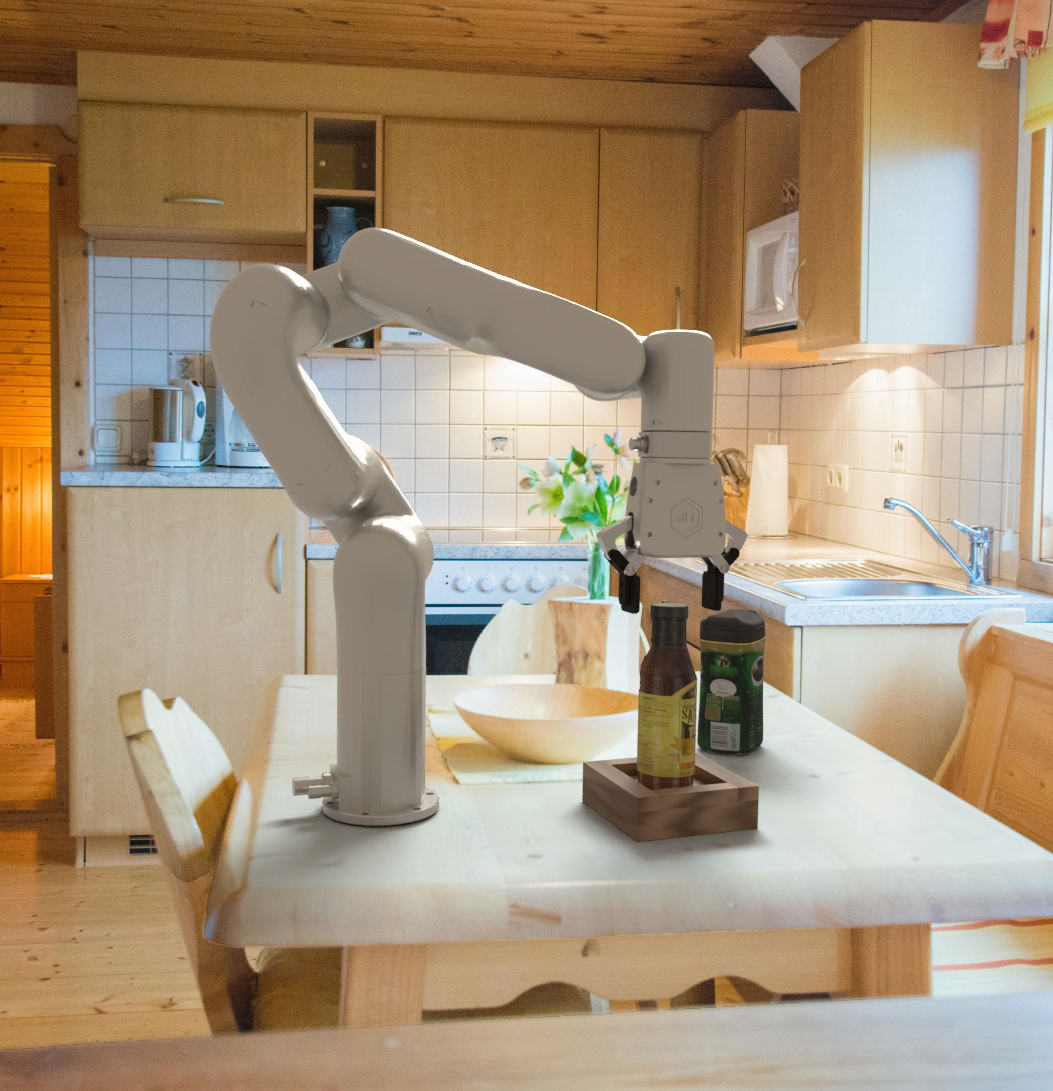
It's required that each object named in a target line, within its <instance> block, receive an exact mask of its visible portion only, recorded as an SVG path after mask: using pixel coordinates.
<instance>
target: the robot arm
mask: <svg viewBox="0 0 1053 1091" xmlns="http://www.w3.org/2000/svg"><path fill="white" fill-rule="evenodd" d="M392 321H395V322H397V323H400V324H402V325H404V326H407V327H409V328H412V329H414V330H416V331H419V332H421V333H424V334H426V335H429V336H431V337H433V338H435V339H438V340H440V341H443V342H445V343H448V344H450V345H453V346H454V347H457V348H459V349H461V350H464V351H467V352H471V353H474V354H477V355H482V356H490V357H491V356H493V357H499V358H502V359H506V360H509V361H512V362H516V363H518V364H522V365H525V366H528V367H530V368H533V369H535V370H538V371H540V372H542V373H545V374H547V375H550V376H552V377H554V378H557V379H559V380H561V381H564V382H567V383H568V384H571V385H574V387H575V389H577V390H578V392H579V393H581V394H582V395H583V396H584V397H586V398H589V399H590V400H594V401H597V402H598V401H599V402H615V401H621V400H629V399H630V400H631V399H640V400H641V401H640V402H641V405H640V407H641V408H640V410H641V411H640V431H639V432H638V436H637V437H631V438H630V439H629V441H628V447H629V450H630V451H636V452H637V453H638V454H637V456H638V457H639V462H636V461H635V462H634V463H633V467H632V471H631V476H630V480H629V485H628V493H627V497H626V505H625V506H626V508H625V514H624V515H625V516H624V517H623V518H621V519H619V520H617V521H616V522H614V523H612V524H610V525H608V526H607V527H604V528H602V529H601V530H599V531H597V533H596V536H595V537H596V539H597V542H598V544H599V546H600V549H601V551H602V552H603V557H604V558H605V559H606V560H607V562H608V563H609V564H610V565H611V566H612V568H613V569H614V571H615V572H616V573H617V574H618V603H619V605H620V608H621V611H623V612H625V613H629V614H632V615H635V614H636V615H637V614H638V613H640V608H641V607H640V605H641V577H640V575H638V574H637V571H638V570H639V568H640V567H641V566H642V564H643V563H644V562H645V561H646V559H647V558H652V559H653V558H654V559H681V558H682V559H685V558H692V559H693V558H695V559H696V558H700V560H701V561H702V563H703V564H704V565H705V567H706V569H707V570H703V573H702V575H701V576H702V577H701V579H702V580H701V582H702V583H701V607H702V608H704V609H707V610H711V611H714V612H720V611H721V610H722V602H723V601H724V598H725V597H724V596H725V574H727V573H729V571H730V567H731V566H732V565H733V564H734V562H736V560H738V558H739V557H740V553H741V550H742V549H743V547H744V545H745V543H746V540H747V538H748V533H747V531H745V530H743V529H741V528H740V527H738V526H737V525H735V524H733V523H732V522H730V521H728V520H727V519H726V508H725V506H726V505H725V495H724V493H725V492H724V486H723V480H722V475H721V474H722V473H721V470H720V466H719V465H720V464H719V463H712V453H713V450H712V449H713V448H712V447H713V421H714V420H713V418H714V416H713V415H714V386H715V382H714V381H715V358H716V357H715V354H716V353H715V343H714V340H713V338H712V337H711V335H709V334H708V333H706V332H703V331H701V330H692V329H691V330H689V329H668V330H667V329H666V330H659V331H654V332H652V333H649V334H648V335H647V336H646V335H645V336H644V335H643V336H642V335H637V333H636V332H635V331H634V330H633V329H631V328H630V327H629V326H627V325H626V324H624V323H623V322H620V321H618V320H616V319H614V318H611V317H609V316H606V315H604V314H602V313H600V312H597V311H595V310H592V309H590V308H588V307H585V306H583V305H580V304H578V303H576V302H573V301H570V300H568V299H566V298H564V297H560V296H557V295H556V294H552V293H550V292H547V291H543V290H542V289H538V288H535V287H532V286H530V285H527V284H524V283H521V282H519V281H518V280H514V279H512V278H509V277H507V276H503V275H500V274H497V273H496V272H492V271H491V270H487V269H485V268H483V267H480V266H478V265H475V264H474V263H471V262H467V261H465V260H463V259H460V258H458V257H456V256H454V255H451V254H449V253H447V252H444V251H441V250H439V249H437V248H435V247H433V246H430V245H428V244H425V243H422V242H420V241H417V240H415V239H414V238H411V237H408V236H405V235H403V234H400V233H398V232H395V231H393V230H391V229H390V230H389V229H387V228H383V227H382V228H380V227H368V228H363V229H361V230H358V231H357V232H355V233H354V234H352V235H351V236H350V237H349V238H348V239H347V241H345V243H344V244H343V246H342V248H341V249H340V252H339V254H338V258H337V261H336V262H334V263H331V264H328V265H326V266H323V267H320V268H317V269H315V270H312V271H310V272H306V273H304V274H301V275H300V274H298V273H296V272H295V271H294V270H292V269H290V268H287V267H285V266H283V265H279V264H273V263H257V264H253V265H250V266H247V267H245V268H243V269H242V270H240V271H239V272H237V273H236V274H235V275H234V276H233V277H232V278H231V279H230V280H229V281H228V283H226V285H225V286H224V288H223V290H222V291H221V293H220V295H219V297H218V299H217V301H216V303H215V305H214V309H213V312H212V315H211V320H210V327H209V348H210V355H211V356H210V357H211V360H212V364H213V367H214V371H215V374H216V376H217V378H218V380H219V383H220V385H221V388H222V389H223V391H224V393H225V394H226V396H227V398H228V400H229V402H230V403H231V405H232V406H233V408H234V410H235V411H236V413H237V415H238V416H239V418H240V419H241V420H242V423H243V424H244V426H245V427H246V429H247V430H248V432H249V433H250V435H251V437H252V439H253V441H254V442H255V444H256V446H257V447H258V449H259V450H260V452H261V454H262V455H263V456H264V458H265V460H266V461H267V463H268V465H269V466H270V468H271V469H272V471H273V473H274V474H275V475H276V477H277V478H278V480H279V482H280V483H281V486H282V487H283V489H284V490H285V492H286V494H287V496H288V497H289V499H290V501H292V503H293V505H294V506H295V507H296V509H298V510H299V511H300V512H301V513H303V514H305V515H306V516H308V517H309V518H313V519H314V520H320V521H322V522H323V524H324V526H325V527H326V529H327V530H328V531H329V533H330V535H331V536H332V537H333V539H334V540H335V542H336V543H337V546H338V547H337V549H336V552H335V555H334V559H333V566H332V588H333V590H332V591H333V598H334V601H333V602H334V610H335V626H336V627H335V630H336V632H335V633H336V634H335V635H336V763H334V764H329V766H330V769H329V771H328V772H327V771H326V772H322V773H321V775H320V776H313V777H311V776H300V777H292V782H291V784H292V785H291V789H292V795H293V797H297V796H307V797H308V800H314V799H322V800H321V805H322V812H323V814H324V815H326V816H327V817H329V818H330V819H332V820H334V821H336V822H341V823H345V824H349V825H356V826H373V827H374V826H375V827H378V826H379V827H380V826H381V827H384V826H395V825H396V826H397V825H402V824H410V823H414V822H417V821H421V820H423V819H427V818H428V817H431V816H433V815H434V814H435V813H437V812H438V810H439V808H440V797H439V794H438V793H437V792H436V791H435V790H432V789H431V788H428V787H426V725H427V724H426V723H427V721H426V718H427V717H426V716H427V714H426V713H427V712H426V711H427V706H426V705H427V698H426V696H427V665H426V664H427V631H426V630H427V628H426V627H427V626H426V625H427V624H426V623H427V622H426V582H427V579H428V577H429V576H430V574H431V571H432V569H433V565H434V560H435V559H434V558H435V552H434V546H433V541H432V539H431V537H430V535H429V533H428V530H427V529H426V527H425V526H424V524H423V522H422V521H421V519H420V518H419V516H418V514H417V513H416V512H415V511H414V509H413V507H412V506H411V504H410V503H409V501H408V499H407V498H406V497H405V495H404V493H403V491H402V490H401V489H400V486H398V484H397V483H396V481H395V479H394V478H393V476H392V475H391V473H390V471H389V470H388V469H387V467H386V465H385V464H384V463H383V461H382V459H381V458H380V456H378V454H377V453H376V451H375V450H374V449H373V448H372V447H371V446H370V445H369V444H368V443H366V442H365V441H363V440H362V439H360V438H358V437H357V436H354V435H351V434H348V432H346V430H345V429H344V428H343V426H342V425H341V423H340V422H339V421H338V419H337V418H336V416H335V414H333V412H332V411H331V409H330V407H329V406H328V405H327V403H326V402H325V400H324V398H323V396H322V394H321V392H320V391H319V389H318V387H317V385H315V383H314V382H313V380H312V379H311V378H310V377H309V376H310V375H308V374H307V372H306V371H305V370H304V367H303V366H302V364H301V363H300V361H299V358H298V355H304V354H309V353H312V352H315V351H318V350H321V349H324V348H327V347H330V346H331V345H334V344H337V343H339V342H342V341H344V340H347V339H350V338H352V337H356V336H358V335H361V334H363V333H367V332H369V331H372V330H374V329H377V328H379V327H382V326H384V325H385V324H389V323H391V322H392ZM622 535H624V536H623V537H624V539H623V540H624V547H625V549H626V550H625V551H624V553H623V554H622V552H620V551H619V550H618V547H617V544H616V540H617V538H619V537H622ZM726 538H728V539H727V544H726Z"/></svg>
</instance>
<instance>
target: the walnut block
mask: <svg viewBox="0 0 1053 1091" xmlns="http://www.w3.org/2000/svg"><path fill="white" fill-rule="evenodd" d="M759 793H760V785H758V784H757V783H754V782H752V781H750V779H746V778H745V777H742V776H741V775H739V774H737V773H735V772H733V771H731V770H729V769H727V768H725V767H723V766H722V765H720V764H718V763H716V762H714V761H712V760H710V759H708V758H706V757H704V756H702V755H700V754H699V753H696V752H695V773H694V782H693V786H689V787H678V788H668V789H658V790H650V789H648V788H647V787H645V786H644V785H642V784H640V783H639V782H638V770H637V756H636V757H625V758H614V759H612V758H611V759H601V760H590V761H583V762H582V798H581V800H582V803H584V804H585V805H587V806H588V807H589V808H591V809H592V810H593V811H595V812H596V813H597V814H598V815H600V816H601V817H602V818H604V819H605V820H606V821H608V822H609V823H611V824H612V825H613V826H614V827H616V828H617V829H619V830H620V831H621V832H622V833H624V834H625V835H627V837H629V838H631V839H632V840H634V841H635V842H636V843H637V842H646V841H654V840H665V839H673V838H682V837H690V836H699V835H707V834H716V833H717V834H718V833H724V832H726V833H727V832H733V831H734V832H735V831H744V830H750V829H752V830H754V829H758V827H759V825H758V824H759V796H760V794H759Z"/></svg>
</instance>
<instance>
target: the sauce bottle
mask: <svg viewBox="0 0 1053 1091" xmlns="http://www.w3.org/2000/svg"><path fill="white" fill-rule="evenodd" d="M649 614H650V615H649V616H650V620H651V638H650V643H651V647H650V648H649V650H648V651H647V653H646V654H645V655H644V657H643V659H642V661H641V663H640V669H639V670H640V671H639V688H638V701H637V702H638V704H637V742H636V743H637V744H636V745H637V747H636V749H637V750H636V752H637V754H636V757H637V770H638V782H639V783H640V784H642V785H644V786H645V787H647V788H648V789H650V790H658V789H668V788H678V787H689V786H693V782H694V773H695V753H696V744H697V742H696V741H697V740H696V739H697V738H696V737H697V735H696V734H697V707H698V706H697V702H698V700H697V699H698V698H697V697H698V696H697V695H698V677H697V674H696V671H695V666H694V665H693V661H692V659H691V655H690V653H689V652H690V651H689V649H688V645H687V643H688V641H687V622H688V621H687V620H688V618H689V605H688V604H685V603H676V602H659V603H657V602H656V603H655V602H654V603H652V604H650V612H649Z"/></svg>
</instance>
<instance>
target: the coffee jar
mask: <svg viewBox="0 0 1053 1091" xmlns="http://www.w3.org/2000/svg"><path fill="white" fill-rule="evenodd" d="M765 622H766V621H765V618H764V617H763V616H761V615H760V614H759V613H758V612H757V611H756V610H753V609H752V610H750V609H743V608H728V609H727V610H724V611H722V612H719V613H718V612H717V613H716V614H711V615H708V616H707V617H705V618H703V619H701V620H700V622H699V625H700V626H699V637H698V638H699V639H698V640H699V650H700V652H699V653H700V655H699V656H700V674H699V676H700V679H699V702H698V704H699V706H698V715H697V716H698V720H697V736H696V737H697V738H696V739H697V740H696V741H697V742H696V744H697V746H698V747H699V748H700V749H702V750H703V751H704V750H705V751H707V752H709V753H711V754H714V755H721V756H728V755H747V754H750V753H752V752H754V751H756V750H757V749H758V748H760V746H761V745H762V744H763V741H764V659H765V658H764V657H765V645H766V623H765Z"/></svg>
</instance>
